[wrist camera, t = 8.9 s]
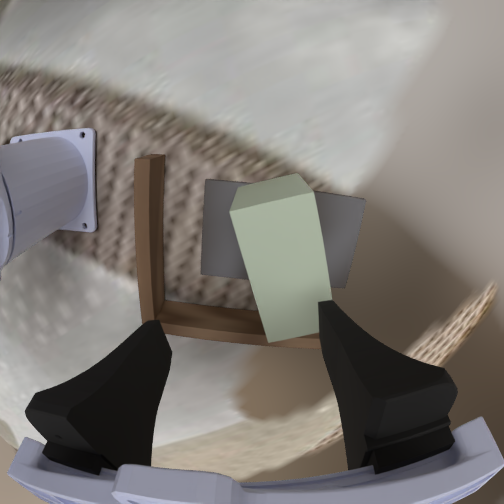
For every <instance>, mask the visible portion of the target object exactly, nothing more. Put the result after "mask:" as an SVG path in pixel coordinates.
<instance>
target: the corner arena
mask: <svg viewBox="0 0 504 504" xmlns="http://www.w3.org/2000/svg"><path fill="white" fill-rule="evenodd" d="M164 167H165V155H160V154H151V155H147V156H143V157H140V158H136V159H135V166H134V219H135V245H136V262H137V276H138V288H139V298H140V308H141V316H142V324H144V323H145V322H146V321H148V320H160V323H161V326H162V328H163V331H164V333H165V334H170V335H177V336H183V337H190V338H198V339H205V340H213V341H222V342H231V343H241V344H251V345H262V346H275V347H290V348H308V349H309V348H310V349H321V344H320V339H319V332H318V333H314V334H309V335H305V336H300V337H295V338H291V339H286V340H281V341H276V342H270V343H268V340H267V337H266V333H265V330H264V327H263V324H262V320H261V317H260V314H259V311H251V310H241V309H232V308H223V307H214V306H206V305H198V304H190V303H182V302H175V301H167V300H165V291H164V262H163V195H164ZM249 184H253V183H246V182H236V181H225V180H214V179H206V180H205V195H204V211H203V230H202V253H201V274H202V275H211V276H220V277H229V278H239V279H248V280H249V277H248V274H247V270H246V267H245V263H244V260H243V257H242V253H241V250H240V246H239V243H238V240H237V236H236V233H235V229H234V226H233V223H232V219H231V216H230V212H229V211H230V208H231V206H232V203H233V200H234V197H235V194H236V191H237V189H238V187H241V186H245V185H249ZM314 195H315V200H316V205H317V210H318V215H319V221H320V226H321V232H322V237H323V243H324V249H325V255H326V261H327V267H328V274H329V281H330V287H334V288H345V286H346V283H347V279H348V275H349V272H350V268H351V264H352V260H353V256H354V252H355V248H356V244H357V240H358V235H359V231H360V226H361V222H362V218H363V213H364V208H365V203H366V200H365V199H363V198H357V197H351V196H345V195H339V194H332V193H326V192H319V191H314Z"/></svg>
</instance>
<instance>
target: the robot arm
mask: <svg viewBox="0 0 504 504" xmlns="http://www.w3.org/2000/svg"><path fill="white" fill-rule="evenodd" d="M83 132H84V133H85V137H84V138H83V137H82V134H83ZM95 137H96V133H95V130H94V129H93V128H83V129H71V130H61V131H52V132H44V133H36V134H29V135H23V136H16V137H13V138H12V139H11V141H10V144H7V145H2V146H0V280H1V271H2V268H3V267H4V266H5V265H6V264H8V263H9V262H11V261H12V260H13V259H15V258H16V257H18V256H19V255H20V254H22V253H23V252H25V251H26V250H27V249H29V248H30V247H32V246H33V245H35V244H36V243H38V242H39V241H41V240H42V239H44V238H45V237H47V236H48V235H50V234H51V233H53V232H55V231H56V230H58V229H62V230H71V231H81V232H93V231H95V230H96V229H97V216H96V197H95ZM21 140H22V142H21ZM85 223H86V224H87V227H86V226H85ZM318 315H319V339H320V344H321V349H322V354H323V358H324V361H325V364H326V367H327V370H328V373H329V376H330V379H331V382H332V385H333V388H334V392H335V395H336V398H337V402H338V407H339V412H340V418H341V423H342V429H343V435H344V442H345V448H346V456H347V463H348V471H344V472H339V473H334V474H328V475H322V476H315V477H308V478H301V479H292V480H282V481H267V482H244V483H238V482H237V481H235V480H234V479H232V478H231V477H229V476H226V475H222V474H219V473H214V472H206V471H195V470H180V469H169V468H159V467H151V456H152V443H153V434H154V427H155V420H156V414H157V410H158V406H159V403H160V400H161V397H162V393H163V390H164V387H165V384H166V380H167V377H168V374H169V370H170V364H171V358H172V350H171V348H170V346H169V343H168V341H167V338H166V336H165V333H164V331H163V328H162V326H161V323H160V320H148V321H146V322H145V323H144V324H143V325H141V326H140V327H139V328H138V329H137V330H136V331H135V332H134V333H132V334H131V335H130V336H129V337H128V338H127V339H126V340H125V341H124V342H123V343H121V344H120V345H119V346H118V347H117V348H116V349H114V350H113V351H112V352H111V353H110V354H109V355H107V356H106V357H105V358H104V359H102V360H101V361H100V362H98V363H97V364H95V365H94V366H92V367H91V368H90V369H88V370H86V371H85V372H83V373H81V374H79V375H78V376H76V377H74V378H72V379H70V380H68V381H66V382H64V383H62V384H59V385H57V386H55V387H52V388H49V389H46V390H43V391H40V392H37V393H35V395H34V396H33V398H32V400H31V401H30V403H29V405H28V406H27V408H26V410H25V414H26V417H27V419H28V420H29V422H30V423H31V424H32V425H33V426H34V427H35V429H36V430H37V431H38V432H39V433H40V434H41V435H42V436H43V437H44V438H45V439H46V440H47V443H46V445H44V444H42V443H40V442H38V441H36V440H33V439H30V438H28V437H25V438H24V440H23V442H22V444H21V445H20V447H19V449H18V451H17V453H16V455H15V458H14V460H13V462H12V464H11V466H10V468H9V470H8V472H7V473H8V475H9V476H10V477H11V478H13V479H14V480H15V481H16V482H18V483H19V484H20V485H22V486H23V487H24V488H26V489H27V490H28V491H30V492H31V493H33V494H34V495H35V496H37V497H38V498H40V499H41V500H44V501H45V502H48V503H50V504H452V503H454V502H456V501H458V500H460V499H462V498H464V497H466V496H467V495H469V494H471V493H473V492H475V491H476V490H478V489H479V488H480V487H481V486H483V485H484V484H485V483H486V482H487V481H488V480H489V479H490V478H492V477H493V476H494V475H495V474H496V473H497V472H498V471H499V470H500V469H501V468H502V467H504V459H503V457H502V455H501V453H500V451H499V449H498V447H497V445H496V443H495V440H494V439H493V437H492V435H491V433H490V431H489V429H488V427H487V425H486V423H485V421H484V419H483V418H482V417H478V418H476V419H474V420H472V421H470V422H468V423H466V424H463V425H461V426H459V427H458V428H456V429H455V430H453V431H452V432H451V431H450V428H449V425H450V419H449V417H448V413H449V411H450V409H451V407H452V405H453V403H454V401H455V399H456V396H457V393H458V391H457V387H456V385H455V383H454V382H453V380H452V378H451V377H450V375H449V374H448V373H447V371H446V370H445V368H441V367H438V366H434V365H430V364H427V363H423V362H421V361H418V360H415V359H413V358H410V357H408V356H405V355H403V354H401V353H399V352H397V351H395V350H393V349H391V348H389V347H388V346H386V345H384V344H383V343H381V342H379V341H378V340H376V339H375V338H373V337H372V336H371V335H369V334H368V333H367V332H366V331H364V330H363V329H362V328H361V327H359V326H358V325H357V324H356V323H355V322H354V321H353V320H352V319H351V318H349V317H348V316H347V315H346V314H345V313H344V312H343V311H342V310H341V309H340V308H339V307H338V306H337V304H336V303H335V302H334V301H332V300H327V301H321V302H318Z"/></svg>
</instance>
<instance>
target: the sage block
mask: <svg viewBox="0 0 504 504" xmlns="http://www.w3.org/2000/svg"><path fill="white" fill-rule="evenodd" d="M229 212H230V216H231V219H232V223H233V226H234V229H235V233H236V236H237V240H238V243H239V246H240V250H241V253H242V257H243V260H244V263H245V267H246V270H247V274H248V277H249V280H250V284H251V287H252V290H253V294H254V297H255V300H256V304H257V307H258V310H259V314H260V317H261V320H262V324H263V327H264V330H265V333H266V337H267V340H268V343H270V342H276V341H281V340H286V339H291V338H295V337H300V336H305V335H309V334H314V333H318V332H319V315H318V302H321V301H327V300H332V295H331V287H330V281H329V274H328V267H327V261H326V255H325V249H324V243H323V237H322V232H321V226H320V221H319V215H318V210H317V205H316V200H315V195H314V191H313V190H312V189H311V188H310V187H309V186H308V185H307V183H306V182H305V181H304V180H303V179H302V178H301V176H300V175H299V174H298V173H296V174H291V175H287V176H282V177H278V178H274V179H269V180H265V181H261V182H257V183H253V184H249V185H245V186H241V187H238V189H237V191H236V194H235V197H234V200H233V203H232V206H231V208H230V211H229Z"/></svg>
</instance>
